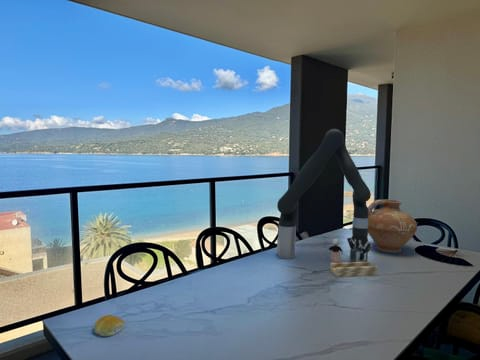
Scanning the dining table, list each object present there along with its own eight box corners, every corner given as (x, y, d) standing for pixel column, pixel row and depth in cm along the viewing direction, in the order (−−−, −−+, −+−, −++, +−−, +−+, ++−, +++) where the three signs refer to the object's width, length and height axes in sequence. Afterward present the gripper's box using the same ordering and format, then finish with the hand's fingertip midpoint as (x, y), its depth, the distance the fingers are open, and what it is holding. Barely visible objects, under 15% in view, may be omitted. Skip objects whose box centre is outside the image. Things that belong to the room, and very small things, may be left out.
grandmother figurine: (341, 262, 166) (342, 238, 165) (343, 264, 162) (344, 240, 161) (326, 261, 167) (327, 237, 166) (327, 264, 163) (328, 239, 162)
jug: (426, 258, 173) (429, 203, 171) (373, 257, 174) (376, 203, 171) (400, 243, 202) (403, 196, 199) (355, 243, 202) (357, 196, 199)
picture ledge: (337, 276, 146) (337, 268, 146) (329, 270, 154) (330, 262, 153) (378, 275, 148) (378, 267, 148) (368, 269, 156) (369, 261, 156)
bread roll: (111, 320, 107) (110, 308, 107) (128, 328, 102) (128, 316, 102) (87, 331, 100) (87, 319, 100) (105, 340, 95) (105, 327, 95)
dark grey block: (354, 266, 159) (354, 250, 159) (349, 265, 162) (350, 249, 161) (367, 261, 167) (368, 246, 166) (362, 260, 169) (363, 245, 168)
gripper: (344, 224, 166) (342, 257, 167) (368, 229, 155) (367, 264, 156) (352, 222, 170) (351, 254, 172) (377, 227, 159) (375, 261, 161)
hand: (358, 259), depth 164 cm, fingers closed on dark grey block, 2 cm apart
